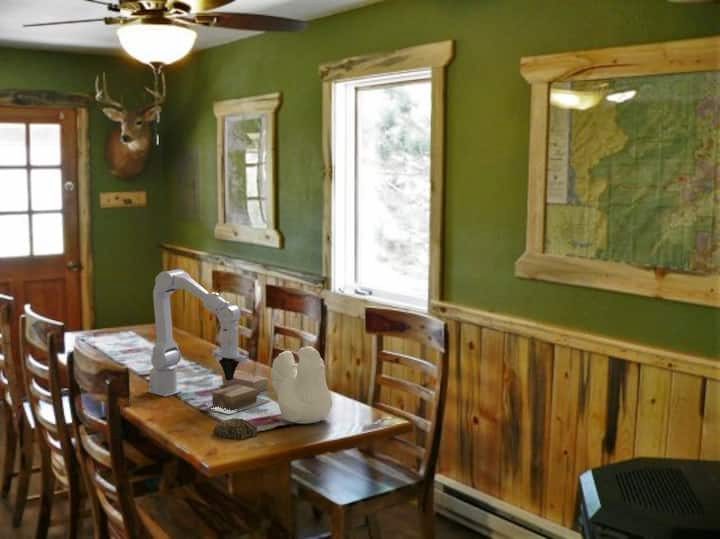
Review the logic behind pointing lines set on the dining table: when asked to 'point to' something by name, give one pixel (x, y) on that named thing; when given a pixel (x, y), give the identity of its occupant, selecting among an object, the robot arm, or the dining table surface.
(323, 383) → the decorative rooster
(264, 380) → the brick
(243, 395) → the block
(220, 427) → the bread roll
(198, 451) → the dining table surface
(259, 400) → the spiral notebook
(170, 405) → the dining table surface
